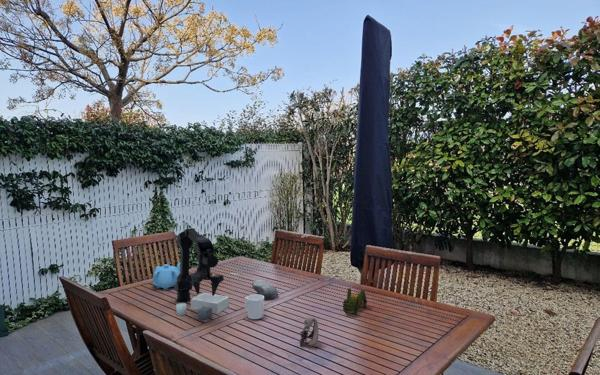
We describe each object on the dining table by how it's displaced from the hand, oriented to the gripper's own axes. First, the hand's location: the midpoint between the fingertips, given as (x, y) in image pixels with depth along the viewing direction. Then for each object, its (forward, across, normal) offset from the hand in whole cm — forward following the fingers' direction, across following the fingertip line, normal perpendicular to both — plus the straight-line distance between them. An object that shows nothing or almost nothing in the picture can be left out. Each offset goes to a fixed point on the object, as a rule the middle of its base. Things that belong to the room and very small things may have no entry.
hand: (205, 294), depth 193 cm
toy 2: (+14, +67, +39) cm, 79 cm away
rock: (+12, +14, +40) cm, 43 cm away
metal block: (+12, -1, 0) cm, 12 cm away
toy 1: (+15, +58, -8) cm, 60 cm away
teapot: (+9, -53, +35) cm, 64 cm away
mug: (+13, +22, +10) cm, 27 cm away
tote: (+11, -6, +13) cm, 18 cm away
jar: (+11, -16, 0) cm, 19 cm away
